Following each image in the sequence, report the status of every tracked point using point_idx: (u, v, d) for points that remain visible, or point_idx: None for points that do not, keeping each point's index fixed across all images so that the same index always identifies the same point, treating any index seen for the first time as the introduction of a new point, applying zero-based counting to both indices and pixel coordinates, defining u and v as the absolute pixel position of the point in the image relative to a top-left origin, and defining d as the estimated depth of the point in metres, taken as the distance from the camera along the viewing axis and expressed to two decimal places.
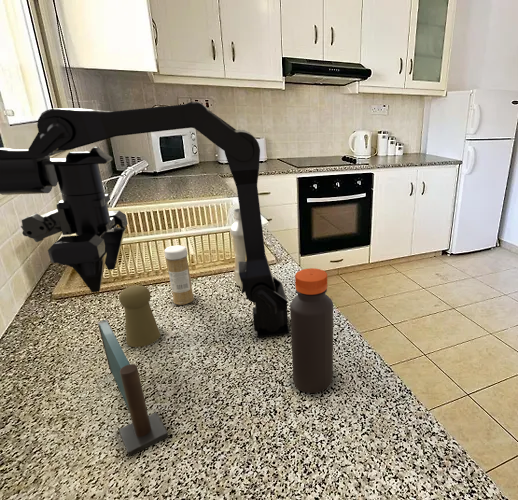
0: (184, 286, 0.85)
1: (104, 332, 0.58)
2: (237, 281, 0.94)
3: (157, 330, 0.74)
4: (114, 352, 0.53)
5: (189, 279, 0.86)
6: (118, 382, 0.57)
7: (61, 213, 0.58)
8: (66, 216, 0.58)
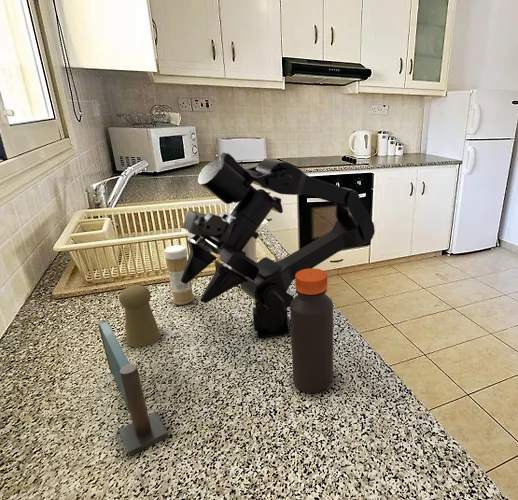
0: (184, 286, 0.85)
1: (104, 332, 0.58)
2: None
3: (157, 330, 0.74)
4: (114, 352, 0.53)
5: None
6: (118, 382, 0.57)
7: (231, 226, 0.63)
8: (230, 230, 0.63)
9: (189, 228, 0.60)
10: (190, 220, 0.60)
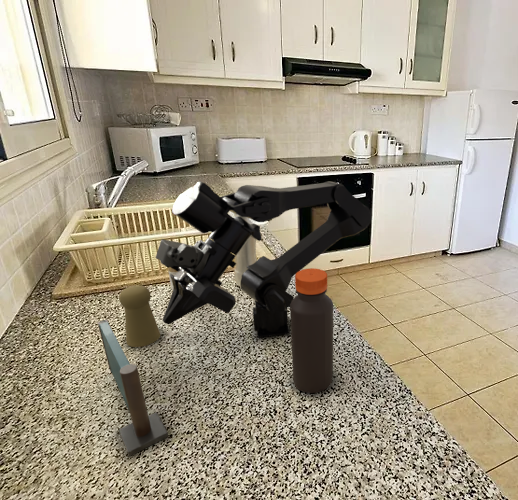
0: None
1: (104, 332, 0.58)
2: (237, 281, 0.94)
3: (157, 330, 0.74)
4: (114, 352, 0.53)
5: None
6: (118, 382, 0.57)
7: (206, 256, 0.61)
8: (206, 260, 0.62)
9: (162, 259, 0.58)
10: (163, 251, 0.58)
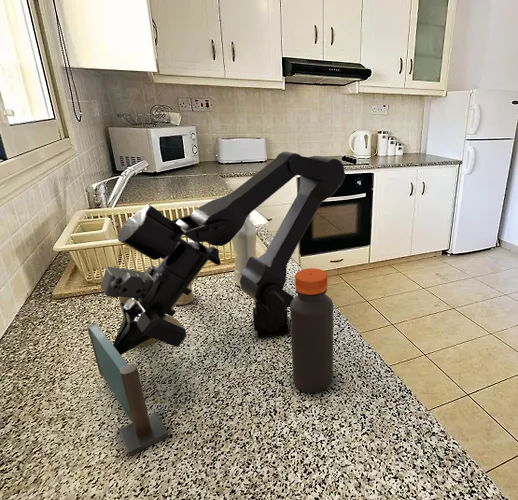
0: None
1: (96, 335, 0.57)
2: (237, 281, 0.94)
3: None
4: (110, 354, 0.53)
5: None
6: (112, 385, 0.57)
7: (156, 284, 0.57)
8: (156, 288, 0.58)
9: (105, 289, 0.54)
10: (107, 280, 0.54)
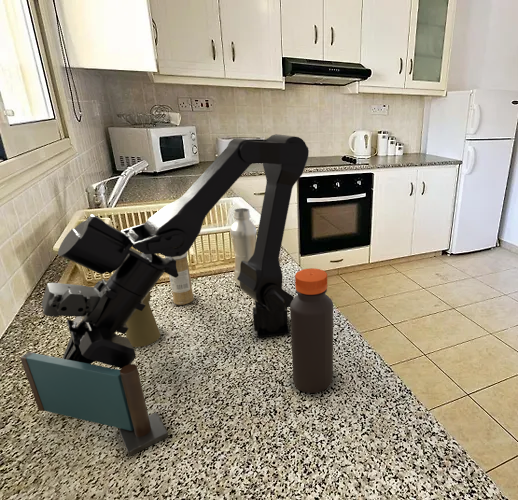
0: (184, 286, 0.85)
1: (45, 361, 0.51)
2: (237, 281, 0.94)
3: (157, 330, 0.74)
4: (85, 368, 0.50)
5: (189, 279, 0.86)
6: (79, 406, 0.53)
7: (103, 301, 0.53)
8: (103, 305, 0.53)
9: (44, 308, 0.50)
10: (46, 298, 0.50)
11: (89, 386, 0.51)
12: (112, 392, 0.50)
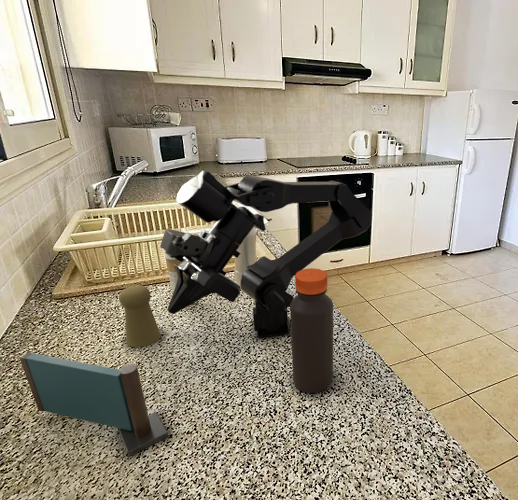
0: None
1: (44, 361, 0.51)
2: (237, 281, 0.94)
3: (157, 330, 0.74)
4: (85, 368, 0.50)
5: None
6: (79, 407, 0.53)
7: (210, 245, 0.61)
8: (210, 249, 0.62)
9: (166, 248, 0.58)
10: (167, 240, 0.58)
11: (89, 386, 0.51)
12: (112, 392, 0.50)
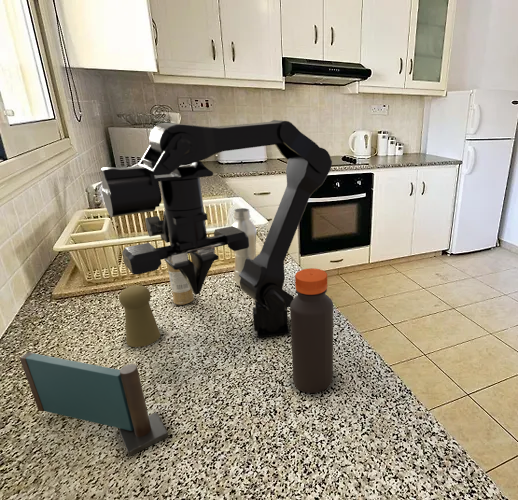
0: (184, 286, 0.85)
1: (44, 361, 0.51)
2: (237, 281, 0.94)
3: (157, 330, 0.74)
4: (85, 368, 0.50)
5: None
6: (79, 407, 0.53)
7: (164, 221, 0.60)
8: (166, 225, 0.60)
9: None
10: None
11: (89, 386, 0.51)
12: (112, 392, 0.50)
